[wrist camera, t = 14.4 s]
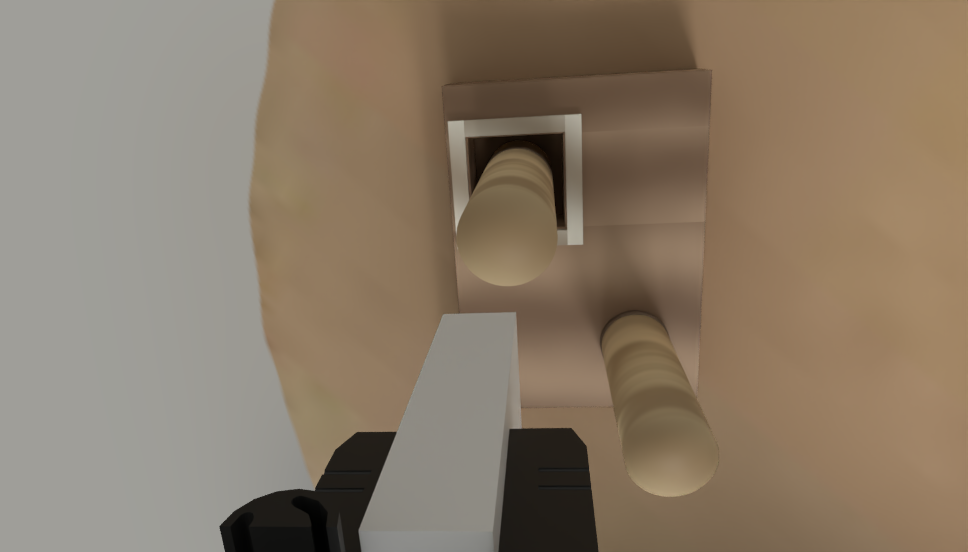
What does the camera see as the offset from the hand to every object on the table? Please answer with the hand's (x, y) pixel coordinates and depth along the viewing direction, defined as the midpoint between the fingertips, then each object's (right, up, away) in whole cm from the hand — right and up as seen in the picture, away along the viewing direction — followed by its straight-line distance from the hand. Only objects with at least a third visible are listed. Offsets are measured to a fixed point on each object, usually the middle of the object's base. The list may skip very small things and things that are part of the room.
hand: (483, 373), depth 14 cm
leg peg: (+2, +8, +23) cm, 24 cm away
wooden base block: (+5, +4, +24) cm, 25 cm away
